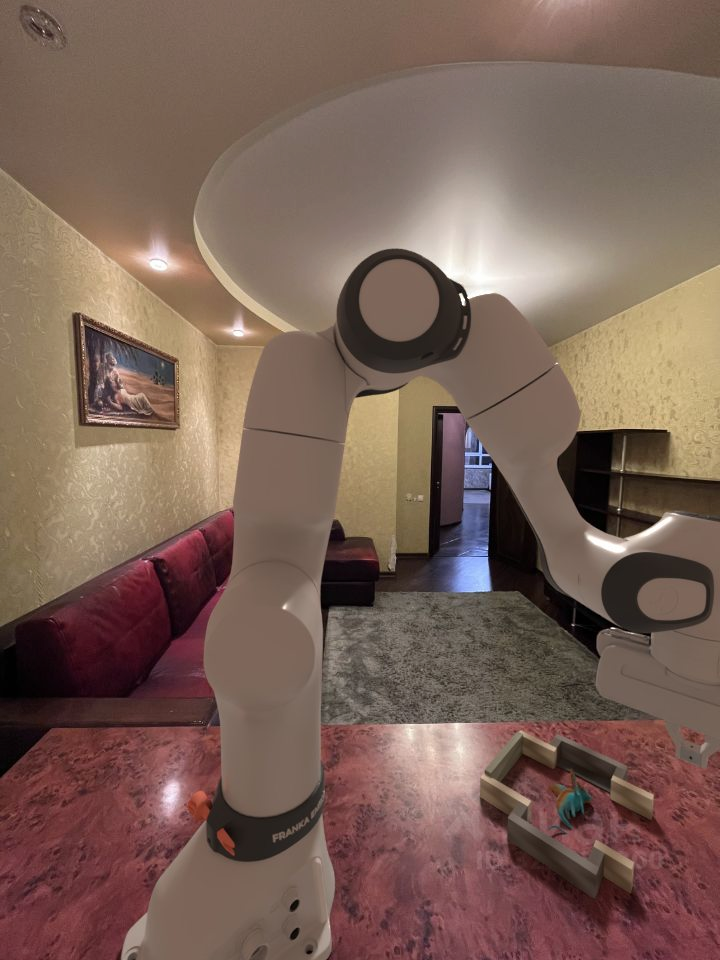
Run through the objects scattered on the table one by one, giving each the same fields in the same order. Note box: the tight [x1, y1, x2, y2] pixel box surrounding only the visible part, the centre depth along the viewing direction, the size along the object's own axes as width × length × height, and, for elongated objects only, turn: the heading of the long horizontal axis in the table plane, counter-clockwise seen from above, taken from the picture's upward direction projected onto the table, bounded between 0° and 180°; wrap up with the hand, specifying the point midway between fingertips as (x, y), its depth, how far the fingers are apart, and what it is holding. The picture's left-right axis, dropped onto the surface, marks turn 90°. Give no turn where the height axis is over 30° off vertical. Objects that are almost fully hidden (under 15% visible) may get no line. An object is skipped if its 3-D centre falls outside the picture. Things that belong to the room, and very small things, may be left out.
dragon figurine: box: [548, 768, 593, 835], centre depth 57 cm, size 6×7×8 cm
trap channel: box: [479, 729, 655, 900], centre depth 59 cm, size 19×22×4 cm
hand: (691, 760), depth 49 cm, fingers closed
